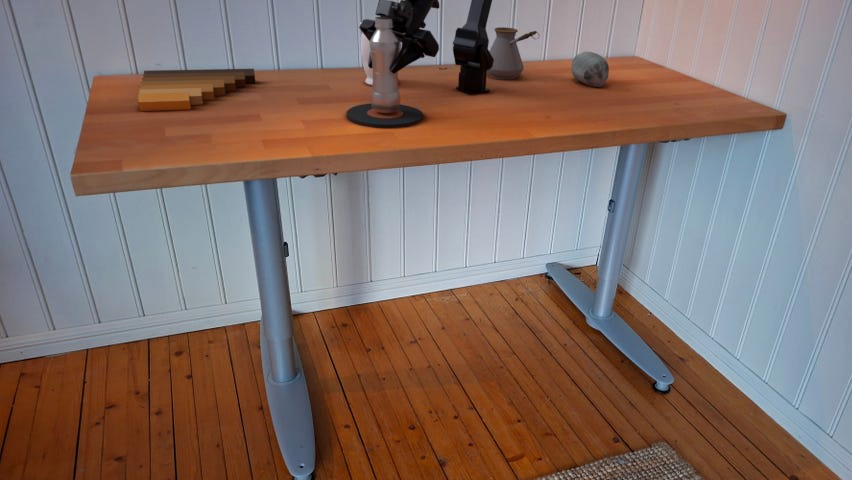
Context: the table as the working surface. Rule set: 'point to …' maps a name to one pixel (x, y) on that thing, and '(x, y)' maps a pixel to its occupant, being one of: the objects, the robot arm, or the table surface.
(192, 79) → the pan flute
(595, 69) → the grey river stone
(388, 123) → the ring
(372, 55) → the plastic bottle
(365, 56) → the jar
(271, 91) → the table surface
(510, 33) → the coffee pot
